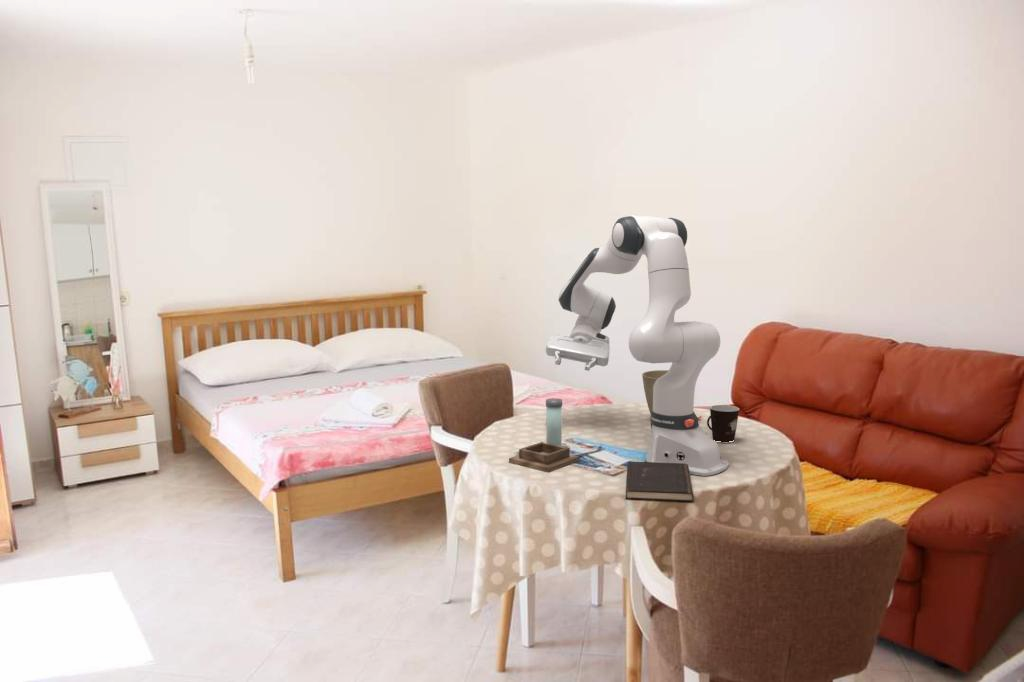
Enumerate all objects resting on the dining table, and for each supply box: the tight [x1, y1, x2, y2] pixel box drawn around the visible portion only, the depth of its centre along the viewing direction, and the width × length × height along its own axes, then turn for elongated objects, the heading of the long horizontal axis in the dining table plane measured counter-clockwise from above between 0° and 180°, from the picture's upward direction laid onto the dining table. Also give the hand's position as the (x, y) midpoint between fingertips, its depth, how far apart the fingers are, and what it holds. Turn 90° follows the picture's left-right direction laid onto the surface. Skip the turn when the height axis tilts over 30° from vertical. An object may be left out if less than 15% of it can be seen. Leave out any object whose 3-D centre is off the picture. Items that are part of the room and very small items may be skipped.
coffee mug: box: [706, 404, 740, 442], centre depth 256 cm, size 12×9×10 cm
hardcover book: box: [625, 461, 694, 503], centre depth 214 cm, size 16×23×2 cm
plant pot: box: [641, 369, 669, 415], centre depth 279 cm, size 15×15×16 cm
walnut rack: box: [508, 441, 581, 473], centre depth 236 cm, size 14×14×4 cm
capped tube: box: [545, 397, 563, 446], centre depth 248 cm, size 5×5×15 cm
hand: (572, 365), depth 263 cm, fingers open, 8 cm apart
